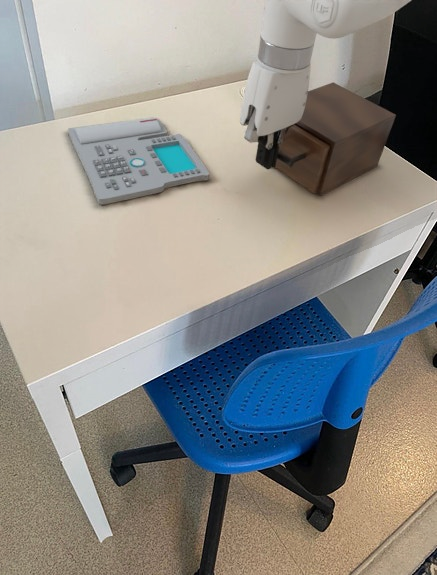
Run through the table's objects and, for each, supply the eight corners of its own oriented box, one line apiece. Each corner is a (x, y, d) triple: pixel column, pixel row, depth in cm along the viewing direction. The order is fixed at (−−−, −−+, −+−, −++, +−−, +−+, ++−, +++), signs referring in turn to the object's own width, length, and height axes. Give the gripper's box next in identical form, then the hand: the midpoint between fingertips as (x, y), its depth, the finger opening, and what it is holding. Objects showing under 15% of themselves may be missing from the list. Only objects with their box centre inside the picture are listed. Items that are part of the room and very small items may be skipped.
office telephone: (65, 121, 92) (166, 107, 99) (67, 134, 94) (167, 119, 100) (98, 192, 78) (214, 170, 85) (99, 206, 80) (213, 183, 86)
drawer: (296, 201, 83) (307, 156, 77) (243, 164, 90) (249, 119, 83) (368, 165, 93) (383, 121, 87) (315, 133, 100) (325, 91, 93)
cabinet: (320, 196, 87) (335, 142, 79) (262, 157, 94) (271, 104, 86) (377, 166, 95) (396, 114, 87) (320, 132, 102) (333, 82, 94)
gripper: (301, 32, 75) (280, 141, 88) (227, 53, 68) (216, 168, 81) (339, 51, 71) (311, 161, 85) (265, 74, 64) (248, 190, 77)
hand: (265, 164), depth 83 cm, fingers closed
